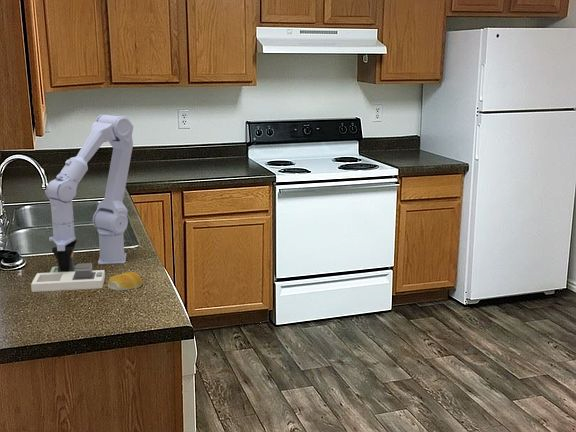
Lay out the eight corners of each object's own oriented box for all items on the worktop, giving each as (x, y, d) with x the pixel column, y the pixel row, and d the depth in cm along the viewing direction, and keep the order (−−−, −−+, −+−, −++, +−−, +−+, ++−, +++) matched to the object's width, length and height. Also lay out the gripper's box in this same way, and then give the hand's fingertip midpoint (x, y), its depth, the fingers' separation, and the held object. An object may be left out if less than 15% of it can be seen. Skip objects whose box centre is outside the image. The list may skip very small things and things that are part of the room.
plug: (60, 270, 190) (58, 247, 188) (75, 270, 191) (73, 247, 189) (58, 275, 186) (56, 251, 184) (73, 274, 187) (71, 251, 185)
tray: (52, 269, 192) (52, 266, 192) (84, 268, 194) (84, 265, 193) (47, 280, 183) (47, 276, 183) (81, 278, 185) (81, 275, 185)
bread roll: (148, 285, 181) (147, 271, 180) (122, 294, 174) (122, 280, 173) (128, 279, 185) (127, 265, 184) (102, 288, 178) (101, 274, 177)
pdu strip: (37, 281, 182) (36, 262, 181) (104, 278, 185) (103, 259, 184) (31, 293, 173) (30, 273, 172) (102, 289, 177) (101, 270, 175)
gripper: (52, 216, 191) (55, 261, 194) (43, 229, 177) (47, 277, 180) (77, 215, 192) (80, 259, 196) (71, 228, 178) (74, 275, 182)
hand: (66, 268), depth 188 cm, fingers open, 5 cm apart
